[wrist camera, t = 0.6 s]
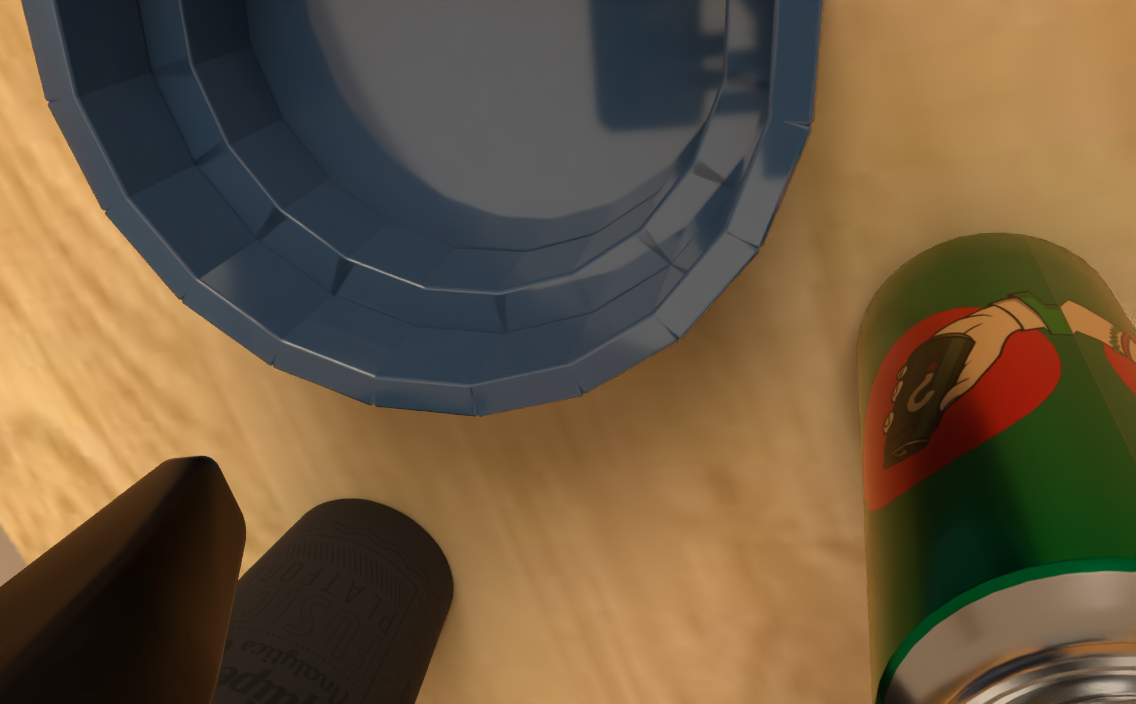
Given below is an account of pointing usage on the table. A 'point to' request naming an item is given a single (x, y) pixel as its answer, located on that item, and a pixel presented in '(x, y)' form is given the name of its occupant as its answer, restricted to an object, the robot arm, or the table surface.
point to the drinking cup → (337, 612)
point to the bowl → (438, 174)
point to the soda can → (999, 478)
